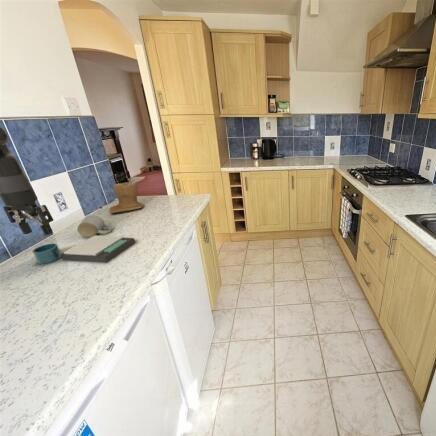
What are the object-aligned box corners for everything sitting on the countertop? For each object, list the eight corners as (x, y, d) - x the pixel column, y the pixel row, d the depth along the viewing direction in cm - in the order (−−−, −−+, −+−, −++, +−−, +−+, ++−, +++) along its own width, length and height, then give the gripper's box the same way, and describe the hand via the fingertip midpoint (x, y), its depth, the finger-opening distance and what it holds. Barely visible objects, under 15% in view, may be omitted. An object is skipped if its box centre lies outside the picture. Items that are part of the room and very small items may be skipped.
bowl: (33, 264, 86) (27, 252, 84) (52, 254, 91) (46, 243, 89) (49, 265, 85) (43, 253, 83) (67, 255, 91) (61, 243, 89)
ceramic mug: (79, 239, 102) (72, 223, 99) (87, 231, 109) (81, 215, 106) (108, 235, 105) (103, 219, 102) (114, 228, 112) (109, 212, 109)
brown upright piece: (144, 204, 142) (136, 178, 136) (143, 210, 132) (135, 183, 126) (113, 209, 135) (104, 182, 129) (110, 216, 126) (100, 188, 120)
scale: (62, 260, 87) (59, 252, 86) (96, 241, 100) (93, 234, 99) (107, 262, 85) (104, 255, 84) (135, 243, 98) (133, 236, 97)
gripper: (-19, 192, 75) (8, 238, 81) (20, 192, 73) (44, 239, 79) (10, 185, 82) (33, 228, 88) (46, 185, 80) (67, 229, 86)
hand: (38, 233), depth 84 cm, fingers open, 8 cm apart
